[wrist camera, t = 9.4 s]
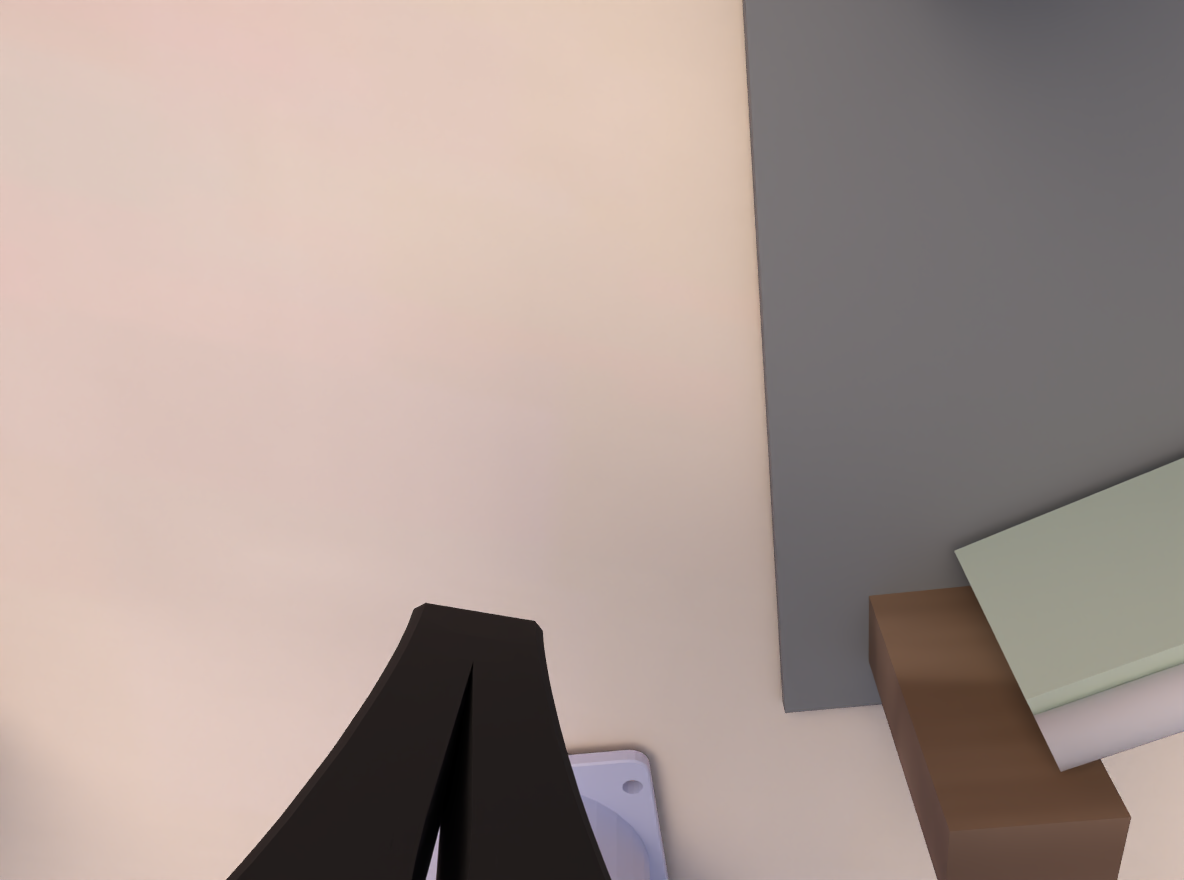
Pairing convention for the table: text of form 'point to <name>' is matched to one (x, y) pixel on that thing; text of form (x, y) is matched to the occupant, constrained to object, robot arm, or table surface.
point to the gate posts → (984, 751)
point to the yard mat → (955, 287)
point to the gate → (1093, 614)
